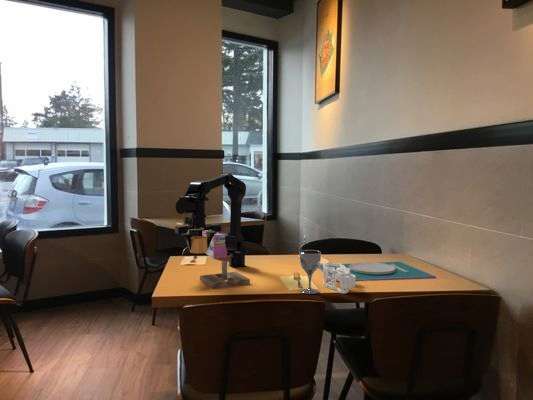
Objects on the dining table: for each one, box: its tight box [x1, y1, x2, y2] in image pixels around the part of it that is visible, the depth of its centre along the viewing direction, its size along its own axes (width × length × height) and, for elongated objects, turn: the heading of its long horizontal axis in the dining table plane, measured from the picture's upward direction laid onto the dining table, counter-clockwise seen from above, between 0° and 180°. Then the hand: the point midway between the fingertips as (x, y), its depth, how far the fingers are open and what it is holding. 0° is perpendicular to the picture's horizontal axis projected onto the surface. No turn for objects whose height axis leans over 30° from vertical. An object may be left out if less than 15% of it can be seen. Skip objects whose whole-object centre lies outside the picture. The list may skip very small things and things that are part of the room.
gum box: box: [201, 230, 228, 260], centre depth 235 cm, size 22×7×13 cm, turn 25°
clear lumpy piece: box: [322, 262, 356, 294], centre depth 176 cm, size 20×11×7 cm, turn 179°
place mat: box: [317, 260, 436, 283], centre depth 204 cm, size 45×30×2 cm
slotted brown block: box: [199, 260, 251, 290], centre depth 181 cm, size 16×14×8 cm
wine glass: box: [299, 249, 322, 295], centre depth 168 cm, size 8×8×15 cm
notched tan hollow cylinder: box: [189, 235, 207, 254], centre depth 187 cm, size 7×7×6 cm
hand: (198, 249), depth 188 cm, fingers closed on notched tan hollow cylinder, 7 cm apart
